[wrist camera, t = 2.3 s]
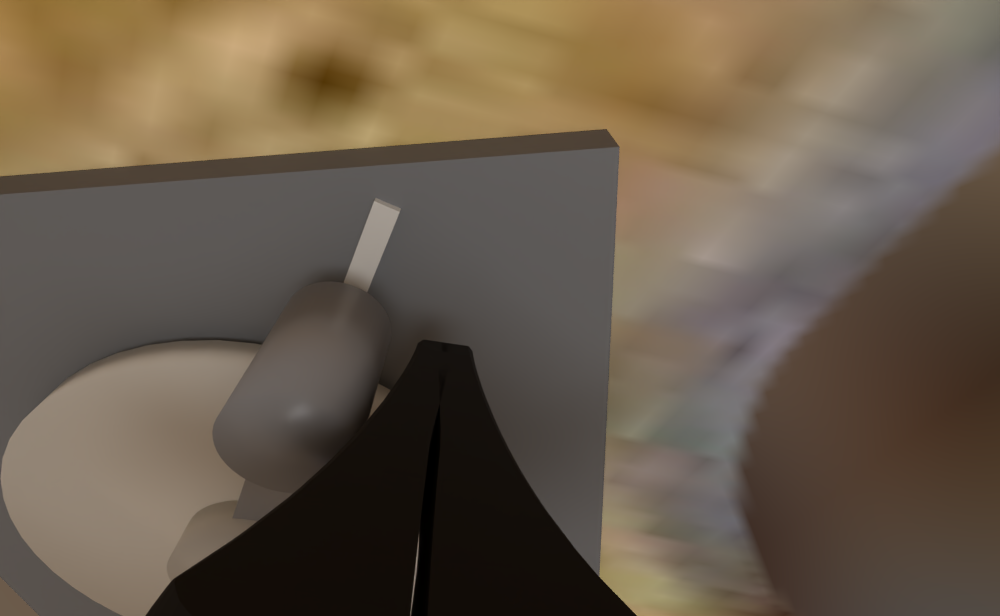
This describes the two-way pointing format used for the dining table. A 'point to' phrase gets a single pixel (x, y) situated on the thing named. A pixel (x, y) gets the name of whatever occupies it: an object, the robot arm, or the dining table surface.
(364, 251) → the dial plate
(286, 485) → the dial
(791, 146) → the dining table surface
